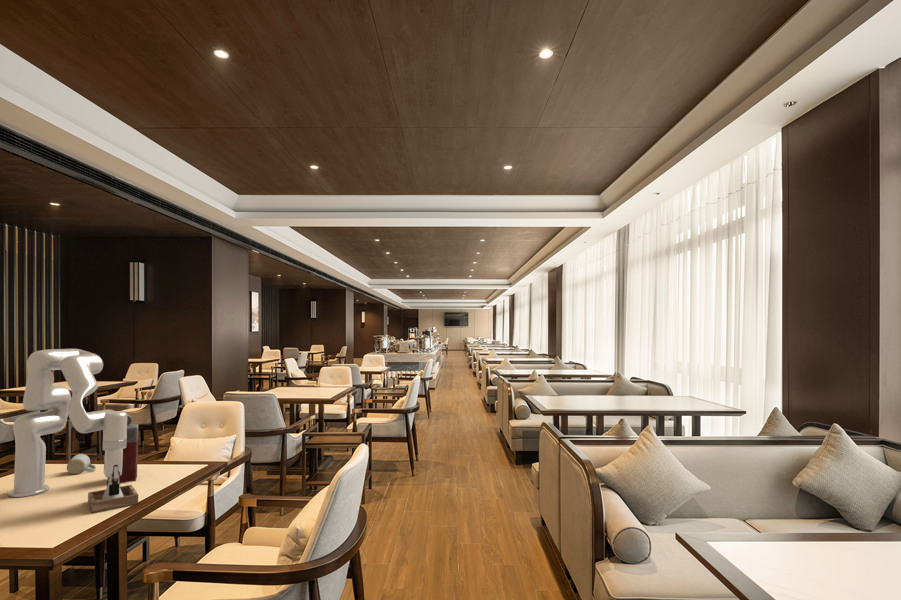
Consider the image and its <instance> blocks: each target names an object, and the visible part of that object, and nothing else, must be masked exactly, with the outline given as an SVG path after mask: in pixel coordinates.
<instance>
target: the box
mask: <svg viewBox="0 0 901 600" xmlns="http://www.w3.org/2000/svg"><path fill="white" fill-rule="evenodd" d="M120 489H121V491H122V494H123V496H124V497H120V498H114V499H109V500H104V501H101V499H102V497H103V495H104V493H105V490H106V488H105V489H100V490H96V491H89V492H88V493H87V503H88V505H89V508H90V510H91V514H96V513H100V512H105V511H111V510H117V509H120V508H127V507H130V506H135V505H139V493H138V492H137V491H136V489H135V487H134V486H133V485H132V484H128V485H127V484H126V485H123V486H120Z"/></svg>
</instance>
